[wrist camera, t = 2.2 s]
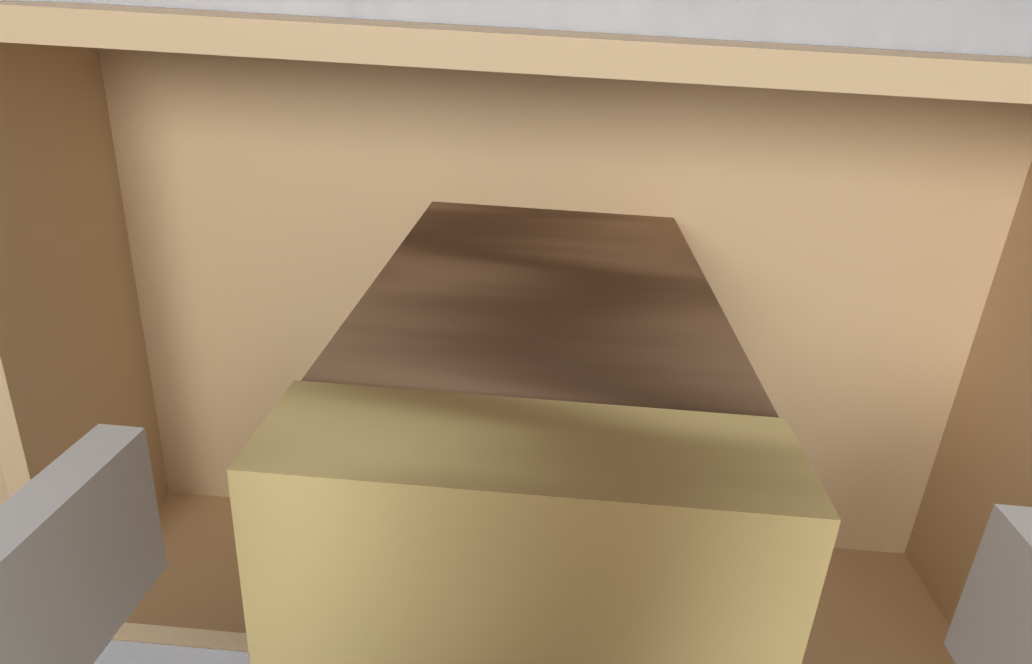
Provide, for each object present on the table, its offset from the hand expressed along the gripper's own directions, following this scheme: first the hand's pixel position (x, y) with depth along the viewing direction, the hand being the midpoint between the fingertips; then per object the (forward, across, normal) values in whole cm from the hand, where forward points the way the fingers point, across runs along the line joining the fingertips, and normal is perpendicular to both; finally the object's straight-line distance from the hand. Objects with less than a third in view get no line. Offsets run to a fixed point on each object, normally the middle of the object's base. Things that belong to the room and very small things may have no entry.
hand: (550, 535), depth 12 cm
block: (+8, 0, 0) cm, 9 cm away
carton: (+9, 0, 0) cm, 9 cm away
